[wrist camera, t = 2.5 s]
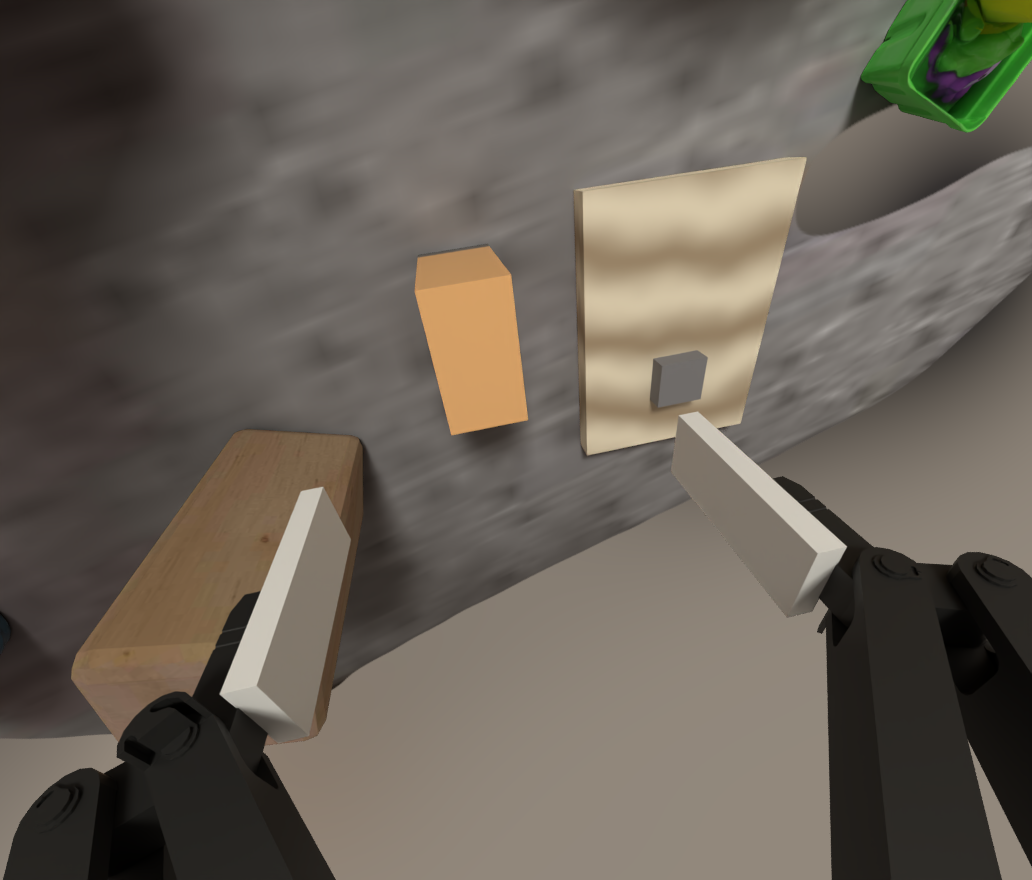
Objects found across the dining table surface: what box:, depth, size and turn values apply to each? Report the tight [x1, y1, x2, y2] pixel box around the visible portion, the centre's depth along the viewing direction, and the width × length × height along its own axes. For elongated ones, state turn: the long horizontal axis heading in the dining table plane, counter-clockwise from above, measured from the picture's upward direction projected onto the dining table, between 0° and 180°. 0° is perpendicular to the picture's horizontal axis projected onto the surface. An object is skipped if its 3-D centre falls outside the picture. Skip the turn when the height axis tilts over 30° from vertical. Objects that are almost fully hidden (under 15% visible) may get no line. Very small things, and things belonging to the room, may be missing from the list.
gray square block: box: [650, 350, 708, 408], centre depth 35 cm, size 4×4×2 cm
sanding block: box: [415, 244, 528, 435], centre depth 27 cm, size 9×5×10 cm, turn 7°
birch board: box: [574, 157, 807, 455], centre depth 34 cm, size 22×16×2 cm
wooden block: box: [71, 429, 363, 745], centre depth 29 cm, size 10×10×20 cm
